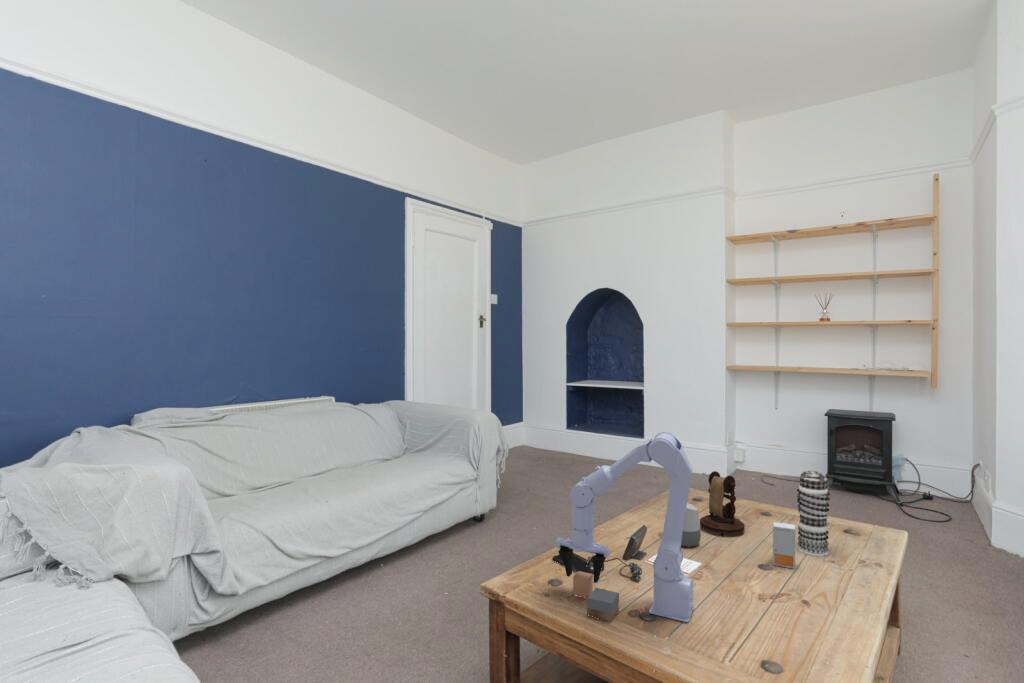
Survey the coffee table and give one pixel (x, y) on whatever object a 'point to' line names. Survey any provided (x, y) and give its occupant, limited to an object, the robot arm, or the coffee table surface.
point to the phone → (575, 563)
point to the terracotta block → (583, 584)
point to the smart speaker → (691, 527)
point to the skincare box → (784, 545)
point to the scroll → (721, 506)
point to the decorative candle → (813, 513)
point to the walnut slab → (603, 614)
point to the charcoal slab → (603, 600)
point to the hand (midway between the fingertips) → (582, 578)
